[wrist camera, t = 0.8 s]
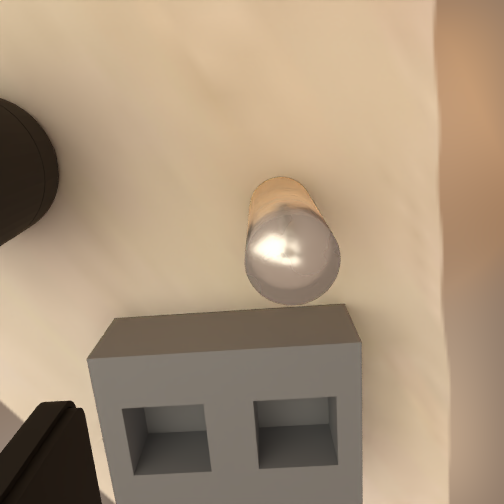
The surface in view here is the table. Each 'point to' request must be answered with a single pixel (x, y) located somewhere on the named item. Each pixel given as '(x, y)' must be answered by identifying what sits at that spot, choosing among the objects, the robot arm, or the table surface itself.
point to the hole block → (232, 407)
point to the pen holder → (24, 171)
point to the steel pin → (289, 244)
